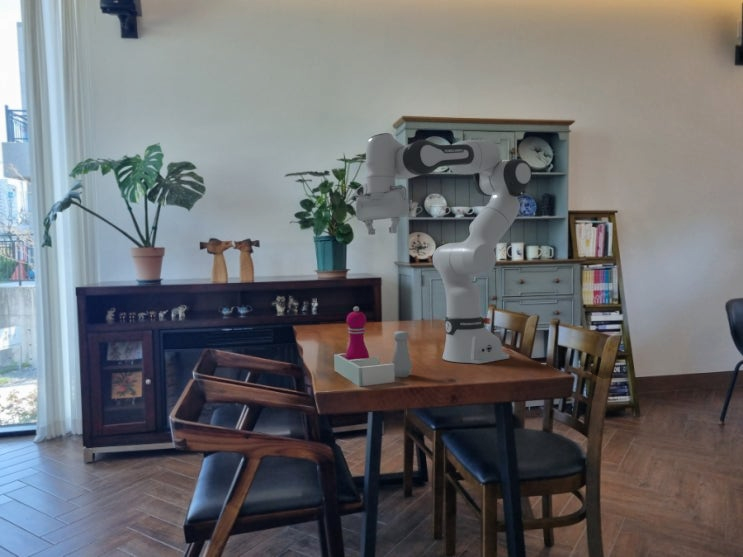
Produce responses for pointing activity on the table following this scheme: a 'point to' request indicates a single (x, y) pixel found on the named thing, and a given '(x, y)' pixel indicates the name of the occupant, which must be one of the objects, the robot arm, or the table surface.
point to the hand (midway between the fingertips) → (382, 234)
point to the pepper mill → (356, 335)
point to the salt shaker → (401, 355)
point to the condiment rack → (364, 370)
